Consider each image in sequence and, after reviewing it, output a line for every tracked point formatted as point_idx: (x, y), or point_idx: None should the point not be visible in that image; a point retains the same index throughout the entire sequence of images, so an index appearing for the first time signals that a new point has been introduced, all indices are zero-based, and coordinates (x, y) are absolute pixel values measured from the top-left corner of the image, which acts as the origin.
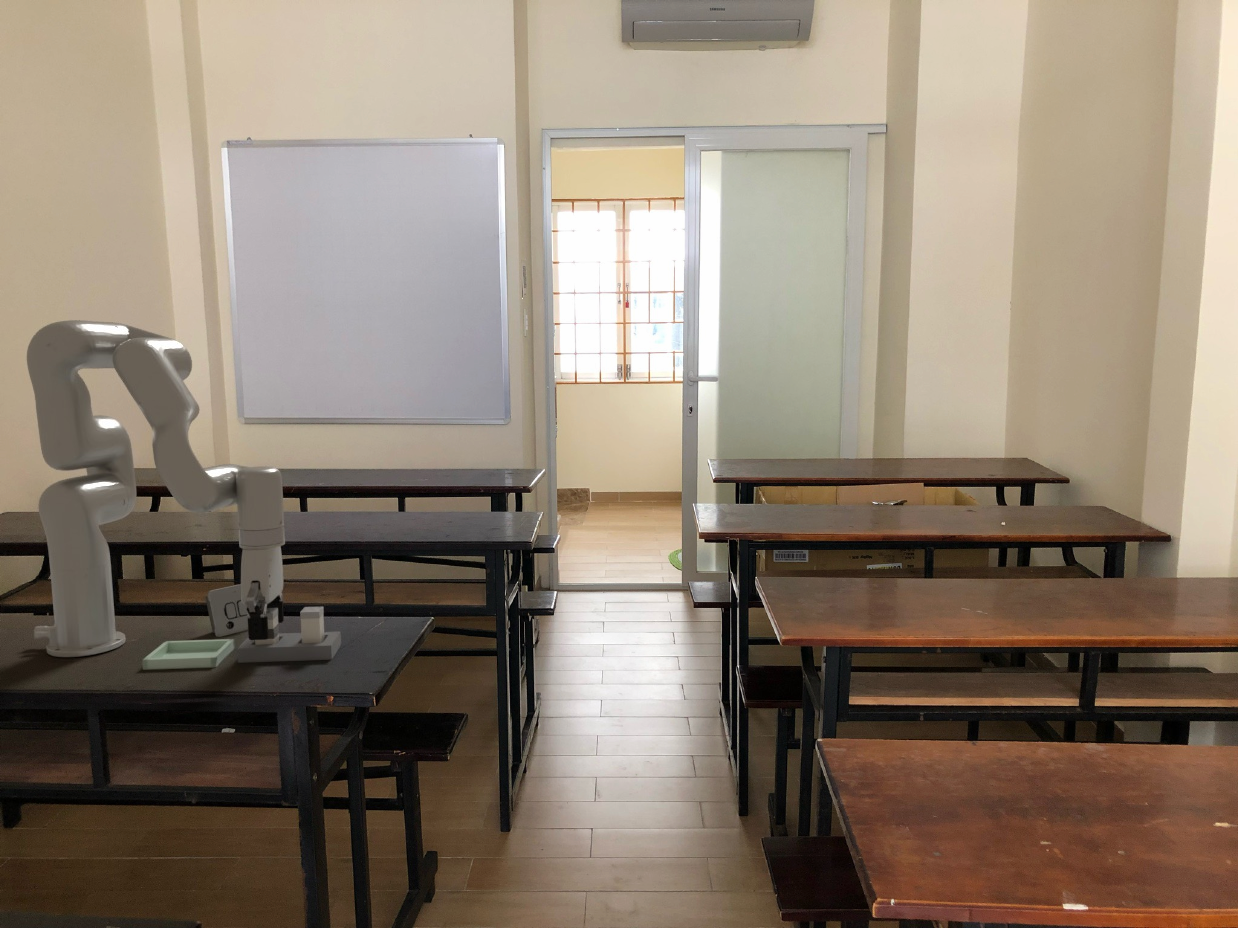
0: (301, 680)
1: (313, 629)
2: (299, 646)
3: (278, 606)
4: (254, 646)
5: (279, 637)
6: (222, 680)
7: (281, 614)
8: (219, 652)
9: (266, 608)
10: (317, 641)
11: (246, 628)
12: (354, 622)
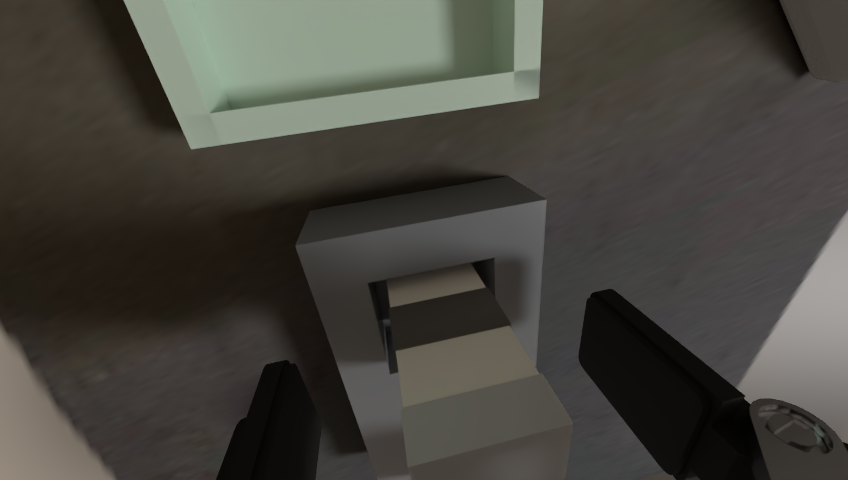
0: (215, 457)
1: None
2: (367, 449)
3: (649, 440)
4: (344, 310)
5: None
6: (99, 240)
7: (607, 398)
8: (287, 127)
9: (558, 463)
10: None
11: (806, 17)
12: (721, 358)
